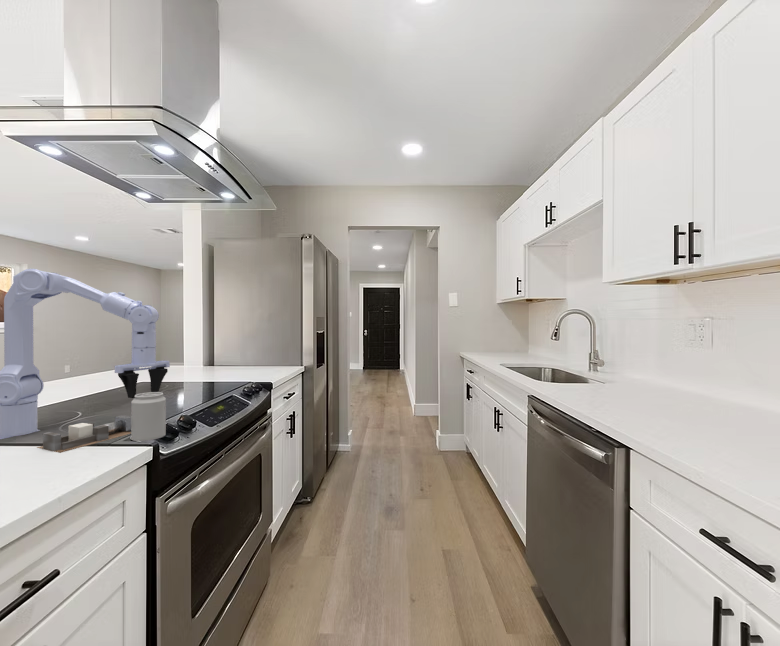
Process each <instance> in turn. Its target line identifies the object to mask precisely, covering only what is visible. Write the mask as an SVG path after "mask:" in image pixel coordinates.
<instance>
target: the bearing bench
mask: <svg viewBox="0 0 780 646" xmlns="http://www.w3.org/2000/svg"><path fill="white" fill-rule="evenodd" d="M86 423H87V424H93V435H91V436H87V437H83V438H79V439H75V440H71V441H68V435H69V434H67V435H62V434H61V433H55V432H52V431H48V432H44V433H42V446H37V447H36V448H37V449H42V450H46V451H50V452H53V453H54V452H55V453H58V454H61V453H66V452H69V451H73V450H75V449H80V448H83V447H84V448H85V447H86V446H90V445H94V444H97V443H102V442H105V441H109V440H112V439H116V438H120V437H123V436H127V435H131V431H117V432H113V433H109V426H106V425H104V424H101V425H102V426H100V425H96V426H97V427H95V423H94V422H86Z"/></svg>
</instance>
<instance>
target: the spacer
mask: <svg viewBox="0 0 780 646" xmlns="http://www.w3.org/2000/svg"><path fill="white" fill-rule="evenodd" d="M87 423H88V422H79V423H76V424H70V425H68V434H67V435H68V441H71V440H75V439H79V438H83V437H87V436H91V435H93V424H87Z"/></svg>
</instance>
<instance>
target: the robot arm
mask: <svg viewBox="0 0 780 646" xmlns="http://www.w3.org/2000/svg"><path fill="white" fill-rule="evenodd" d="M12 277H13V278H12V279H13V280H12V284H11V286H10V287H9V289H8V290H7V292H6V294H4V295H5V296H4V297H3V298H4V299H3V338H4V340H3V341H4V342H3V347H4V348H3V349H4V353H3V355H4V356H3V357H4V358H3V359H4V362H3V364H4V366H3V367H2V368H1V369H0V440H3V439H7V438H12V437H19V436H24V435H27V434H28V435H29V434H33V433H36V432H39V431H41V430H40V429H38V397H39V394H41V392H42V391H43V389H44V380H43V379H42V378H41V375H40V370H39V368H38V367H37V366H36V365H35V364H34V306H37V304H39V303H40V302H42V301H43V300H45V299H48V298H52V297H55V296H59V295H60V294H62V293H63V294H64V293H65V294H68V293H69V294H74V295H76V296H79V297H82V298H84V299H87V300H89V301H92V302H95V303H97V304H99V305H100V306H101V308H102V310H103V311H105V312H106V313H107V312H108V313H109V314H112V315H114V316H117V317H119V318H122V319H125V320H126V321H129V323H131V363H125V364H124V363H123V364H118V365H114V373H115V374H117V375H118V378H119V379H120V381H121V382H122V384H123V387H124V388H125V391H126V394H127V398H129V399H134V398H135V397H134V396H135V395H136V394H137V384H138V378H139V375H140V374H139V373H138V371H147V372H148V375H149V378H150V392H160V388H161V386H162V382H163V380H164V379H165V376H166V375H167V373H168V368H170V366H171V365H170V364H171V362H170V360H157V359H156V358H157V357H156V356H157V353H156V352H157V346H156V345H157V331H156V329H157V328H156V327H157V322H158V320H159V319H160V318H159V317H160V314H159V312H158V310H157V309H156V308H155V307H154V306H152V305H151V304H150V305H149V304H144V305H143V301H141V300H135V299H132V298H130V297H127V296H126V293H124V292H122V291H118V292H116V291H112V292H108V293H106V292H103V291H102V290H100V289H98V288H95V287H93V286H90V285H89V284H86V283H84V282H82V281H80V280H78V279H76V278H73V277H69V276H66V275H61V274H60V273H57V272H49V271H44V270H40V269H37V268H26V269H24V270H22V271H20V272H18V273H17V274H14V275H13V276H12ZM136 372H137V373H136Z"/></svg>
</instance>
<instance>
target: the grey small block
mask: <svg viewBox="0 0 780 646" xmlns="http://www.w3.org/2000/svg"><path fill="white" fill-rule="evenodd" d="M102 425H106V426H109V433H113V432H117V431H127V432H130V431H131V415H117V416H115V417H114V421H113V422H110V423H104V424H101V425H99V426H102ZM97 426H98V425H94V427H97Z"/></svg>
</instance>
